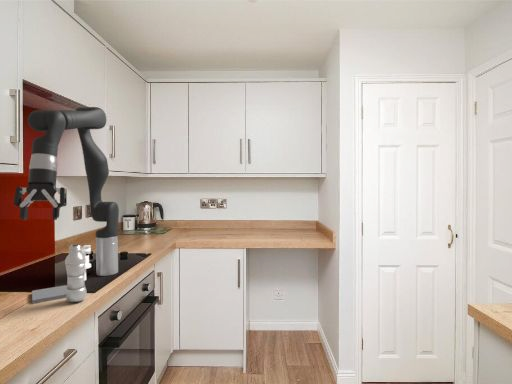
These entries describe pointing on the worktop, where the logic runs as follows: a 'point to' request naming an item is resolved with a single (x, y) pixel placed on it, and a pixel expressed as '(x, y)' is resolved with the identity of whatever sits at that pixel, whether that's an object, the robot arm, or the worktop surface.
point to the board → (49, 294)
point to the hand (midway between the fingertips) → (39, 219)
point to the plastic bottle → (75, 274)
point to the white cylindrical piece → (86, 257)
